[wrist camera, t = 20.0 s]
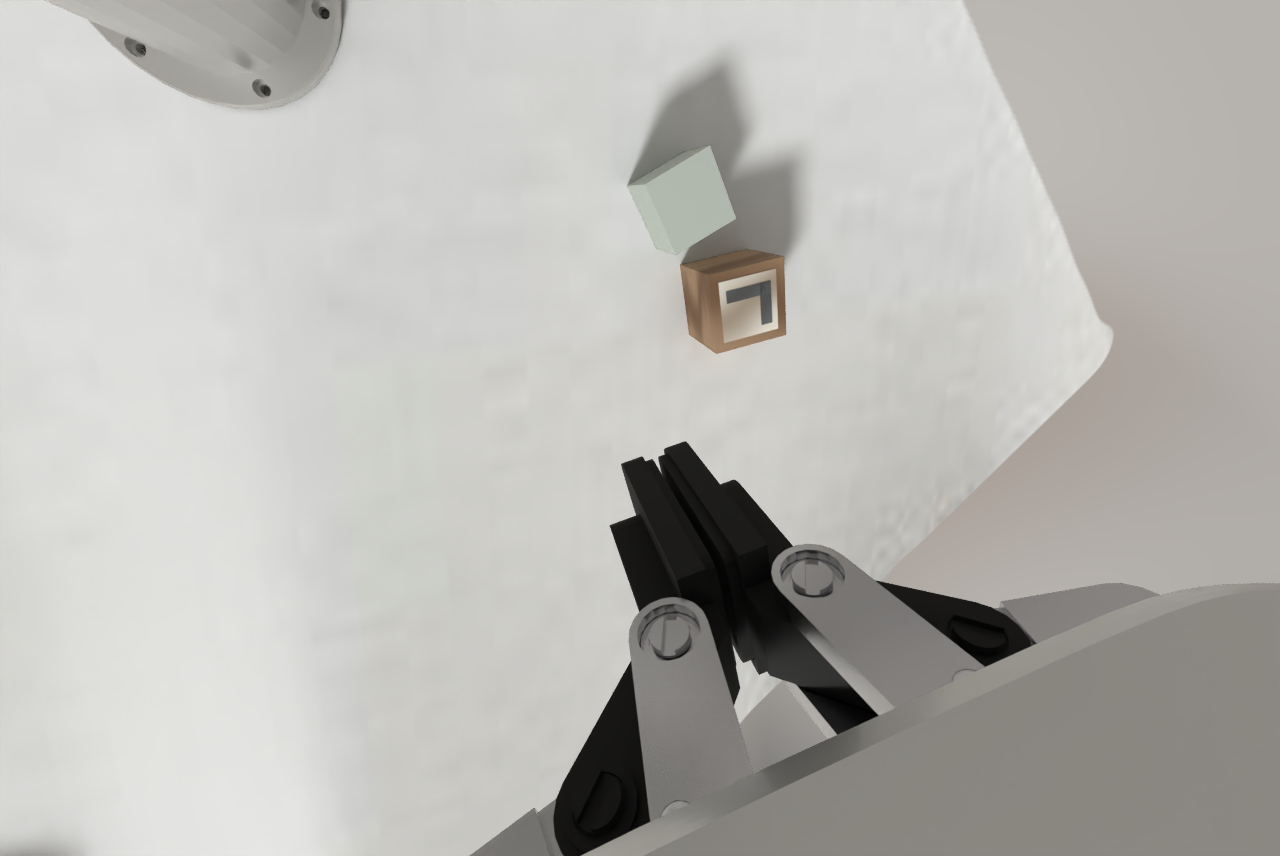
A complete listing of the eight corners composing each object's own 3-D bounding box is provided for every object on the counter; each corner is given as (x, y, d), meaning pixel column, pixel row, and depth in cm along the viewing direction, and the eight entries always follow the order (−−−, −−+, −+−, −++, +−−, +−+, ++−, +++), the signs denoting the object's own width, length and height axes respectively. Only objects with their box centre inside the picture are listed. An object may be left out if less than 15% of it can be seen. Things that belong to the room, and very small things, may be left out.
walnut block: (784, 256, 34) (746, 248, 40) (708, 275, 33) (679, 264, 39) (786, 334, 37) (750, 318, 43) (717, 354, 36) (688, 334, 42)
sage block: (626, 186, 35) (645, 184, 31) (683, 151, 35) (710, 145, 31) (655, 248, 38) (676, 255, 33) (708, 216, 38) (736, 218, 33)
